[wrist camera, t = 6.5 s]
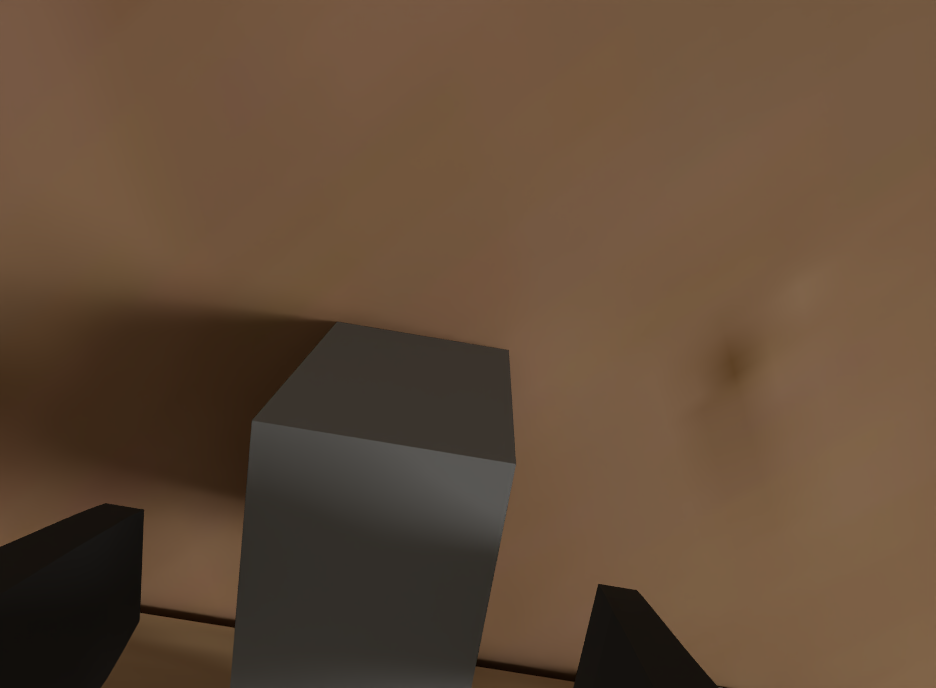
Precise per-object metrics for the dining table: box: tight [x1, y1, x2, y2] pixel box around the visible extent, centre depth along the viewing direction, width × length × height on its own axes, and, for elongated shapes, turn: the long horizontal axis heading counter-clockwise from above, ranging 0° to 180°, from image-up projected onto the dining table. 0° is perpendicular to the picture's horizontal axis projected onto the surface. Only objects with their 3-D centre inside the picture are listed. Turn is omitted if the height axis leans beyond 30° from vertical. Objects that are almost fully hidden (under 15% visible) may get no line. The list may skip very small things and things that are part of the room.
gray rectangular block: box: [230, 322, 516, 688], centre depth 14 cm, size 5×4×6 cm
